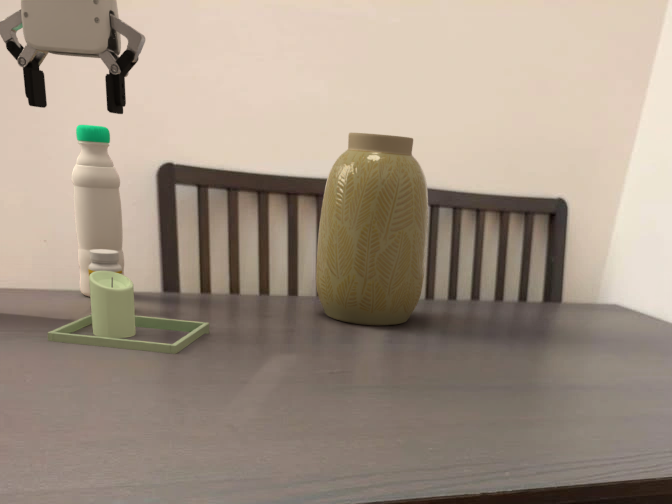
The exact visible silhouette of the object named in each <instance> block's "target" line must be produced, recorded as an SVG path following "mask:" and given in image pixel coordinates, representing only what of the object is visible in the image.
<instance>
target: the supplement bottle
mask: <svg viewBox="0 0 672 504" xmlns="http://www.w3.org/2000/svg"><path fill="white" fill-rule="evenodd" d="M90 261H92V263H91V264H90V265H89V267H88V272H89V276H90V274H91V273H93V272H95V271H112V272H116V273H119V274H122V267H121V266H120V265H119V264H118V263H117V262H119V254H118V251H114V250H105V249H94V250H90ZM89 285H90V284H89Z"/></svg>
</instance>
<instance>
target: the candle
mask: <svg viewBox="0 0 672 504" xmlns="http://www.w3.org/2000/svg"><path fill="white" fill-rule="evenodd" d="M89 284H90V297H89V298H90V311H91V314H92V324H91V326H92V334H93V336H98V337H108V338H118V339H127V338H131V337H134V336H135V335H136V334H137V331H136V327H135V316H136V311H135V292H134V291H135V289H134V283H133V281H132V280H131V278H129V277H128V276H126V275H125V274H124V275H122V274H119V273H116V272H112V271H95V272H93V273H91V274H90V276H89Z"/></svg>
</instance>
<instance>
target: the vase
mask: <svg viewBox="0 0 672 504" xmlns="http://www.w3.org/2000/svg"><path fill="white" fill-rule="evenodd" d="M347 139H348V141H347V149H346V150H345V151H343V152H342V153H341V154H340V155H339V156H338V157H337V158H336V159H335V161H334V163H333V164H332V166H331V168H330V170H329V173H328V175H327V179H326V183H325V187H324V191H323V197H322V201H321V202H322V203H321V209H320V215H319V216H320V217H319V226H318V234H317V248H316V263H315V264H316V266H315V267H316V268H315V269H316V270H315V271H316V272H315V283H316V286H315V287H316V292H317V296H318V299H319V301H320V304H321V306H322V309H323V311H324V314H325V315H326V316H327V317H329V318H331V319H333V320H336V321H340V322H343V323H349V324H354V325H361V326H375V327H376V326H380V327H382V326H383V327H384V326H385V327H386V326H387V327H388V326H396V325H401V324H404V323H406V322H408V321H409V319H410V318H411V315H412V314H413V312H414V311H415V309H416V307H417V305H418V304H419V302H420V299H421V295H422V291H423V285H424V278H425V269H426V260H427V249H428V232H429V192H428V183H427V178H426V176H425V173H424V169H423V168H422V166H421V164H420V163H419V161H418V160H417V158H415V157H414V155H413V148H414V147H413V146H414V138H413V137H408V136H401V135H390V134H379V133H366V132H349V133H348V137H347Z"/></svg>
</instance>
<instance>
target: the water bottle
mask: <svg viewBox="0 0 672 504" xmlns="http://www.w3.org/2000/svg"><path fill="white" fill-rule="evenodd" d="M75 136H76V140H77V141H78V142H77V144H78V145H79V147H80V152H79V154H78V155H77V158H76V160H75V163H76V164H75V165H74V166H73V169H72V172H71V182H72V185H73V212H74V213H73V214H74V226H75V235H76V241H77V246H78V249H77V262H78V263H77V264H78V268H79V290H80V293H81V294H82V295H83V296H86V297H89V298H90V285H89V272H88V267H89V265H90V264H91V263H92V261H90V250H94V249H105V250H114V251H118V254H119V262H117V263H118V264H119V265H120V266H121V267H122V275H124V276H125V255H124V251H123V212H122V202H121V195H120V187H121V178H120V175H119V173H118V170H117V169H116V167H114V161H113V159H111V157H110V155H109V152H108V148H109V147H110V143H111V133H110V130H109V128H108V127H106V126H101V125H94V124H93V125H91V124H78V125H77V126H76V129H75Z"/></svg>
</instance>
